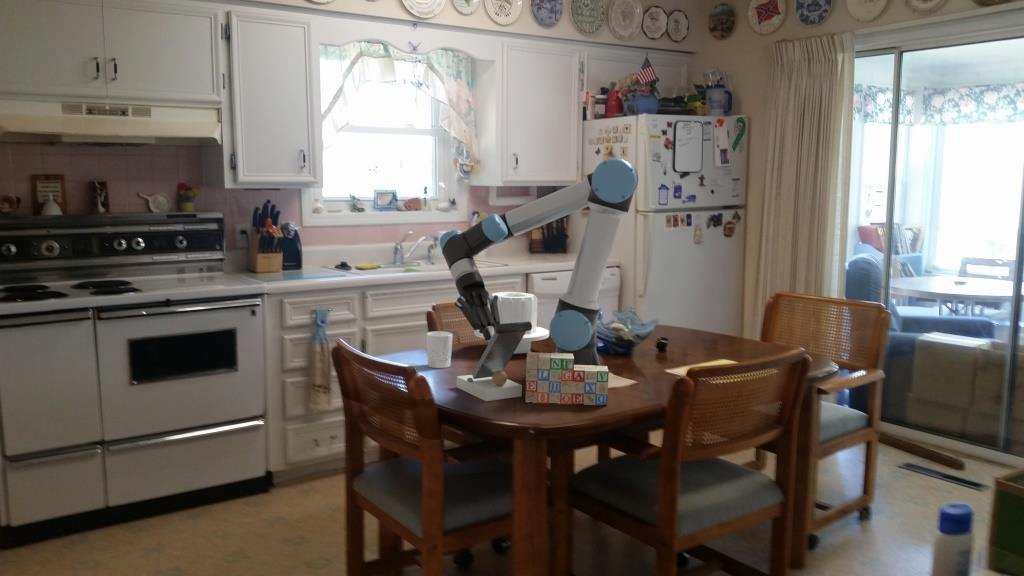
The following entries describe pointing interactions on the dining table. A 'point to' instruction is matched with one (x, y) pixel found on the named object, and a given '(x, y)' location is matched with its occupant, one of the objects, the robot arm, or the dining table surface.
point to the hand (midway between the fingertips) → (496, 349)
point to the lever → (500, 348)
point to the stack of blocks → (564, 380)
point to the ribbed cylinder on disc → (519, 316)
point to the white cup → (439, 349)
